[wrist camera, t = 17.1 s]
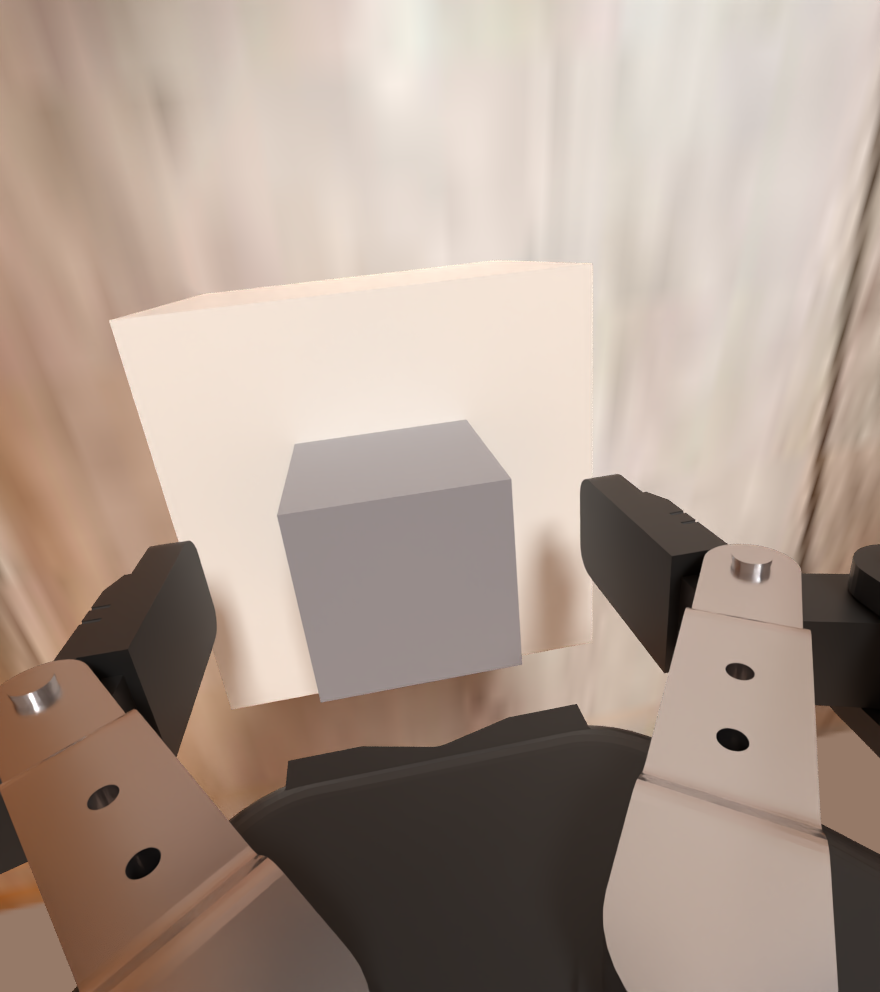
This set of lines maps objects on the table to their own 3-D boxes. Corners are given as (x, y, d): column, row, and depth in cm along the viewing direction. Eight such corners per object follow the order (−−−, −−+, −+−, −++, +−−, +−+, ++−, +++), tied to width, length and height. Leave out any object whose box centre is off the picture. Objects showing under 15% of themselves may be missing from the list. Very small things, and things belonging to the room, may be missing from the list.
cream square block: (495, 260, 21) (692, 266, 9) (511, 517, 25) (661, 749, 13) (203, 294, 20) (4, 350, 8) (268, 556, 24) (198, 846, 12)
